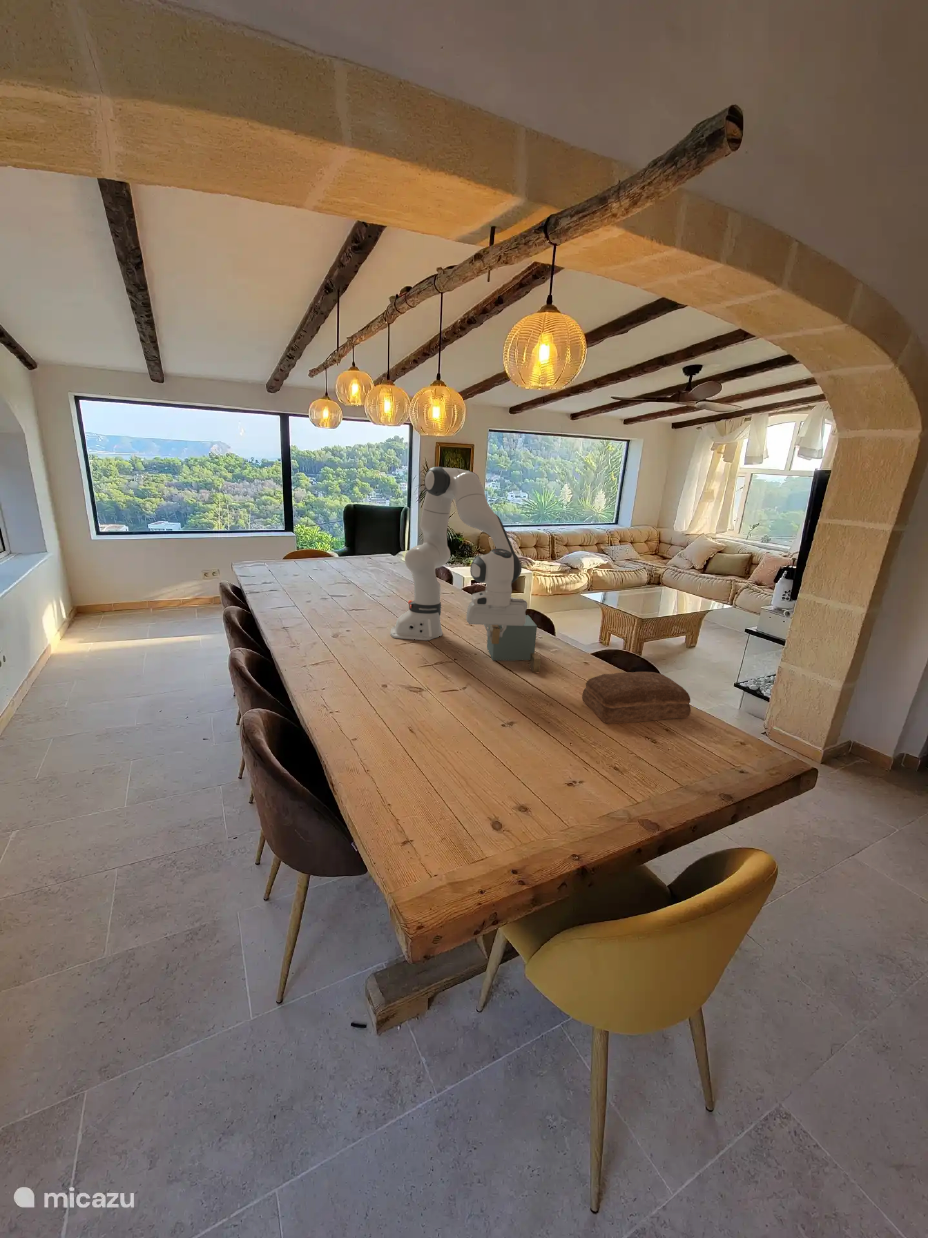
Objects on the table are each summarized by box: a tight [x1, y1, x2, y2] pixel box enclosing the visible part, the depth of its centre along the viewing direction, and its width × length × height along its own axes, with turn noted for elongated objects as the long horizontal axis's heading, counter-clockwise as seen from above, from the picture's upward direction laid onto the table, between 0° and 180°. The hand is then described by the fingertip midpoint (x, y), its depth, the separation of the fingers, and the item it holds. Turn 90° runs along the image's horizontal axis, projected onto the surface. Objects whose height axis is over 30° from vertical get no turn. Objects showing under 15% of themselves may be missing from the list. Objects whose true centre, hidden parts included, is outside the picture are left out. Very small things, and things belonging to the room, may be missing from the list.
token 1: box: [489, 625, 500, 644], centre depth 169 cm, size 2×6×6 cm, turn 6°
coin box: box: [486, 614, 538, 661], centre depth 192 cm, size 16×14×14 cm
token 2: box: [529, 652, 542, 673], centre depth 178 cm, size 2×6×6 cm, turn 7°
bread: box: [581, 671, 691, 724], centre depth 151 cm, size 17×29×11 cm, turn 102°
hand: (494, 636), depth 169 cm, fingers closed on token 1, 2 cm apart
